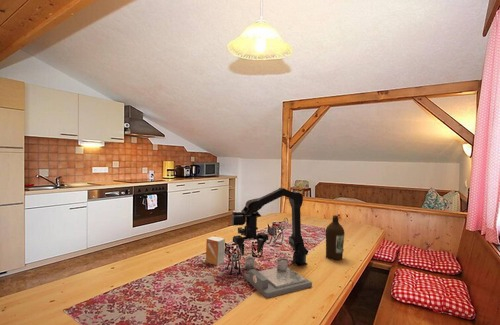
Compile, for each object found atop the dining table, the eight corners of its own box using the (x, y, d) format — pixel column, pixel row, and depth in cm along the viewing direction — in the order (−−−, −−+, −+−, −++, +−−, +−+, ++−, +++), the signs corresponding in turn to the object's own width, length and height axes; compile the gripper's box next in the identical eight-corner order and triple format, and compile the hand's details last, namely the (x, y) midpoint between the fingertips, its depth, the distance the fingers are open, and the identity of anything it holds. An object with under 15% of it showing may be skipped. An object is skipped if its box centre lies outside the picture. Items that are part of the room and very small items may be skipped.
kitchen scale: (285, 269, 140) (286, 259, 140) (311, 286, 122) (312, 274, 122) (244, 278, 128) (244, 266, 128) (265, 298, 111) (266, 285, 111)
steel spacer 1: (251, 265, 145) (251, 255, 144) (256, 268, 140) (256, 259, 140) (243, 266, 142) (243, 257, 142) (247, 270, 138) (248, 260, 138)
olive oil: (321, 256, 162) (322, 214, 161) (332, 253, 167) (334, 213, 167) (335, 262, 153) (337, 218, 152) (347, 258, 158) (349, 216, 158)
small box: (205, 262, 146) (206, 238, 146) (212, 258, 152) (213, 235, 152) (217, 265, 142) (218, 241, 142) (224, 262, 148) (225, 238, 148)
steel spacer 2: (283, 266, 136) (283, 257, 136) (289, 270, 132) (289, 260, 132) (275, 268, 134) (275, 258, 134) (280, 272, 129) (281, 262, 129)
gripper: (259, 219, 152) (258, 247, 153) (228, 222, 144) (227, 251, 144) (269, 224, 142) (268, 253, 143) (237, 227, 134) (236, 259, 134)
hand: (250, 254), depth 141 cm, fingers open, 9 cm apart
